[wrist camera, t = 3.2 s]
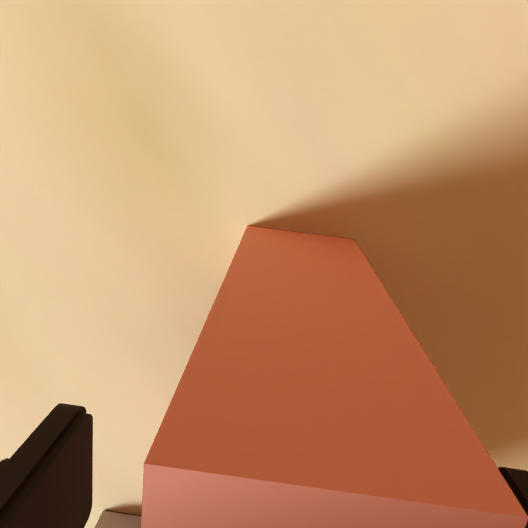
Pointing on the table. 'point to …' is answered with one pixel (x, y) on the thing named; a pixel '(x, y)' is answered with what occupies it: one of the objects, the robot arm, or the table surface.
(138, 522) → the track
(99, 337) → the table surface
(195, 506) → the salmon pink rectangular block
